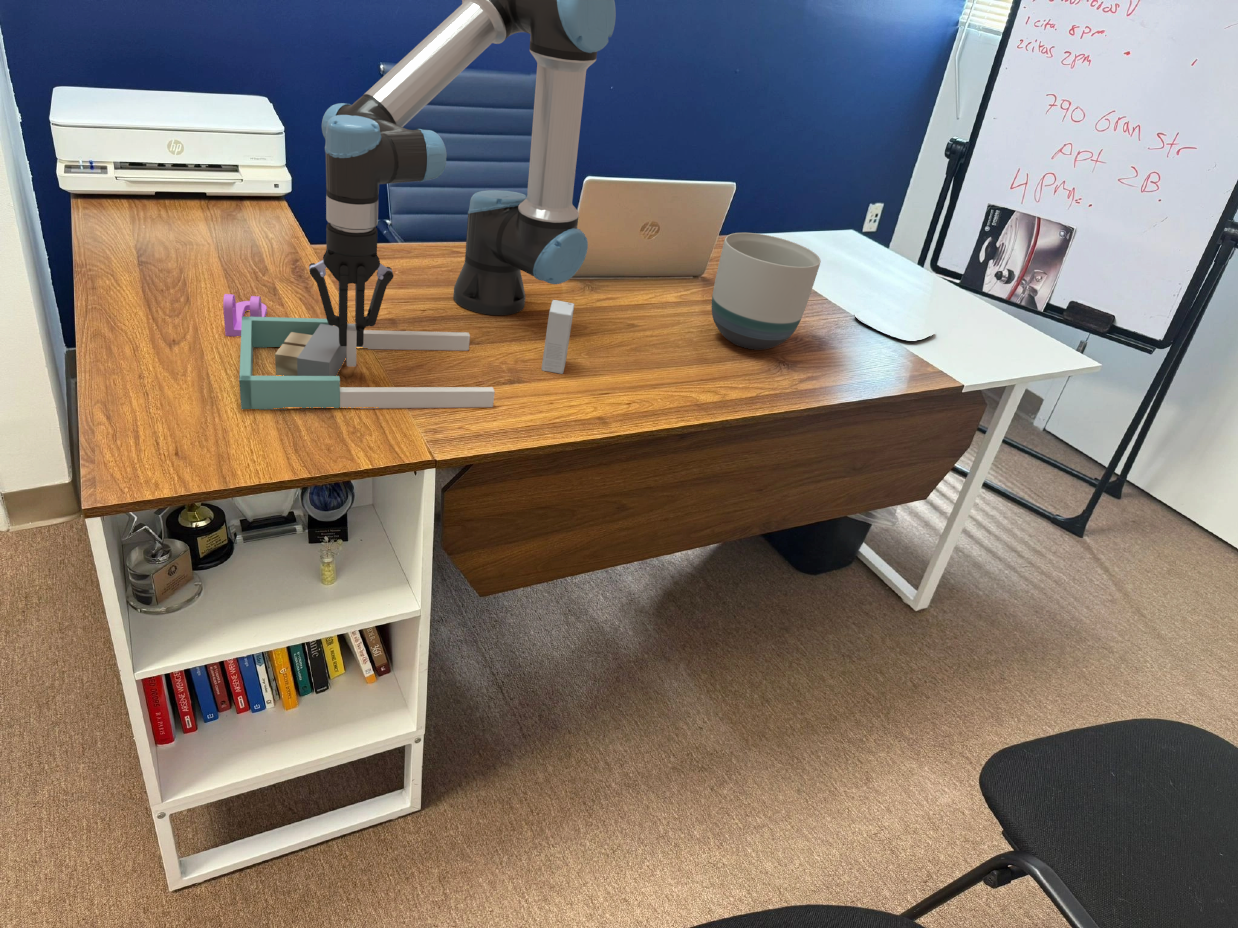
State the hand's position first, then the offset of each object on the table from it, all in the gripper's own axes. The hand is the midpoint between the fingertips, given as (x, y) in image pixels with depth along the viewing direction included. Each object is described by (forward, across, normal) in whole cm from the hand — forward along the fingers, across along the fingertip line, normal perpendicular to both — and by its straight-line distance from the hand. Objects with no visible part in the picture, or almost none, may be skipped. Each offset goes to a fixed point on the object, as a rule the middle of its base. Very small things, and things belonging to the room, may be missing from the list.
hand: (350, 362), depth 142 cm
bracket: (+3, +16, -20) cm, 26 cm away
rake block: (+3, +4, -2) cm, 5 cm away
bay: (+2, +10, 0) cm, 10 cm away
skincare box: (+3, -37, -4) cm, 37 cm away
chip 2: (+2, +9, -1) cm, 10 cm away
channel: (+2, -10, 0) cm, 10 cm away
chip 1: (+2, +8, -6) cm, 10 cm away
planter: (+3, -85, -16) cm, 87 cm away
